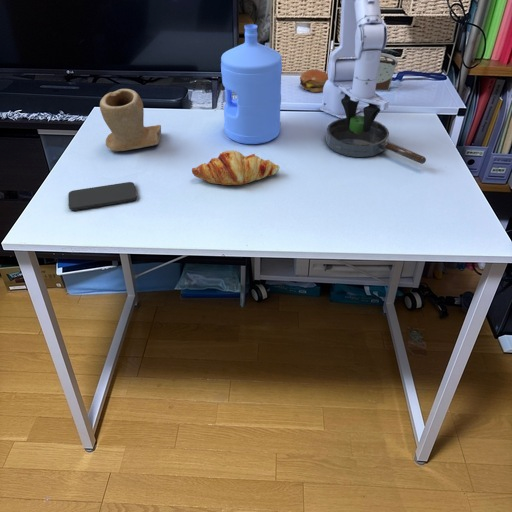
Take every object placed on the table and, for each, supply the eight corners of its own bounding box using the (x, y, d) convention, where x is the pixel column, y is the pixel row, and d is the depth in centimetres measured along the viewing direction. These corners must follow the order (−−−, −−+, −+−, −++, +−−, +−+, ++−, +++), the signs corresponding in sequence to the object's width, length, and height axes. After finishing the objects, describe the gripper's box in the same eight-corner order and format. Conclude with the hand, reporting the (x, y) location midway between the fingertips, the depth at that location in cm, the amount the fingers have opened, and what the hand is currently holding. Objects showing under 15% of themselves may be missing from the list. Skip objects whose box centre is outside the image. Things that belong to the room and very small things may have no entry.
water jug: (283, 121, 143) (287, 18, 125) (275, 147, 131) (278, 38, 113) (231, 117, 145) (226, 15, 127) (218, 143, 134) (211, 34, 115)
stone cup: (107, 160, 127) (94, 104, 117) (106, 138, 136) (94, 85, 126) (166, 152, 130) (158, 98, 120) (161, 132, 139) (154, 79, 129)
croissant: (276, 179, 126) (275, 147, 124) (284, 182, 116) (282, 148, 114) (193, 185, 123) (190, 152, 122) (193, 188, 114) (190, 153, 112)
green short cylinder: (345, 131, 131) (346, 118, 129) (356, 126, 134) (358, 112, 131) (359, 138, 129) (361, 124, 126) (370, 132, 131) (372, 118, 128)
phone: (137, 197, 113) (68, 208, 110) (137, 200, 113) (69, 211, 110) (133, 181, 118) (68, 190, 115) (134, 184, 119) (69, 193, 115)
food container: (391, 83, 163) (396, 52, 157) (393, 91, 159) (398, 59, 152) (353, 82, 164) (357, 51, 158) (354, 89, 160) (358, 58, 153)
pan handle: (379, 148, 127) (380, 141, 126) (384, 145, 128) (385, 138, 127) (421, 166, 120) (423, 159, 119) (426, 163, 121) (428, 156, 120)
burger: (326, 80, 166) (327, 66, 163) (332, 92, 159) (333, 77, 156) (297, 82, 165) (297, 68, 162) (301, 93, 158) (302, 79, 155)
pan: (313, 142, 134) (314, 130, 131) (351, 123, 142) (353, 112, 140) (361, 164, 125) (363, 152, 122) (399, 143, 133) (401, 131, 131)
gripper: (332, 72, 123) (327, 123, 132) (379, 89, 115) (371, 142, 124) (350, 65, 127) (344, 114, 136) (397, 81, 119) (388, 132, 128)
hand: (358, 127), depth 130 cm, fingers closed on green short cylinder, 5 cm apart
